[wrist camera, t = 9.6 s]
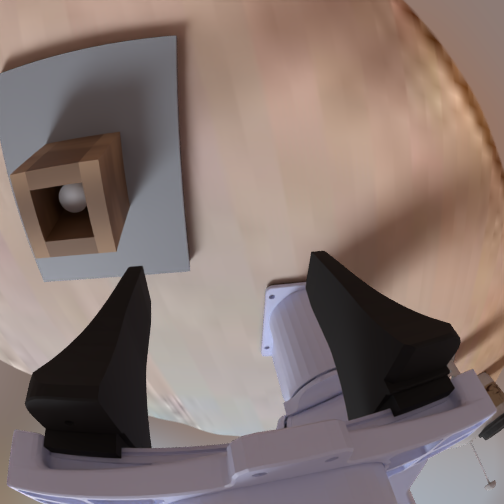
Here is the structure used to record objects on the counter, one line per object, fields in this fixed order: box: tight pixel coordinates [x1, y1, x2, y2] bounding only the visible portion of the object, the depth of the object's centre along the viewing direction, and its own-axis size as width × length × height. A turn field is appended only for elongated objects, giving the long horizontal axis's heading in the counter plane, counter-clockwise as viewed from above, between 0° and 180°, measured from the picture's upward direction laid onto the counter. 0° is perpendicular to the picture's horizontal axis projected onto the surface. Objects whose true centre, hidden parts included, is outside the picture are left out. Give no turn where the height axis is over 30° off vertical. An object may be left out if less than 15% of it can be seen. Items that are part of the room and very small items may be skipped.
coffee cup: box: [478, 372, 504, 440], centre depth 53 cm, size 11×11×15 cm
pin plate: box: [0, 36, 190, 282], centre depth 17 cm, size 16×12×4 cm
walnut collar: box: [10, 132, 130, 259], centre depth 16 cm, size 5×5×5 cm
